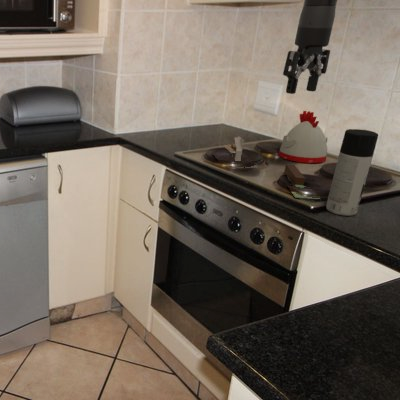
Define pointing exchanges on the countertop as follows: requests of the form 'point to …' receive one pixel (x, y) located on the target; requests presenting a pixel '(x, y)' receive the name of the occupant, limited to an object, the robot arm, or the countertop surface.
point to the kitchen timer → (305, 141)
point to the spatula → (296, 179)
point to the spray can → (351, 171)
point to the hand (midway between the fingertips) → (300, 92)
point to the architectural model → (238, 151)
